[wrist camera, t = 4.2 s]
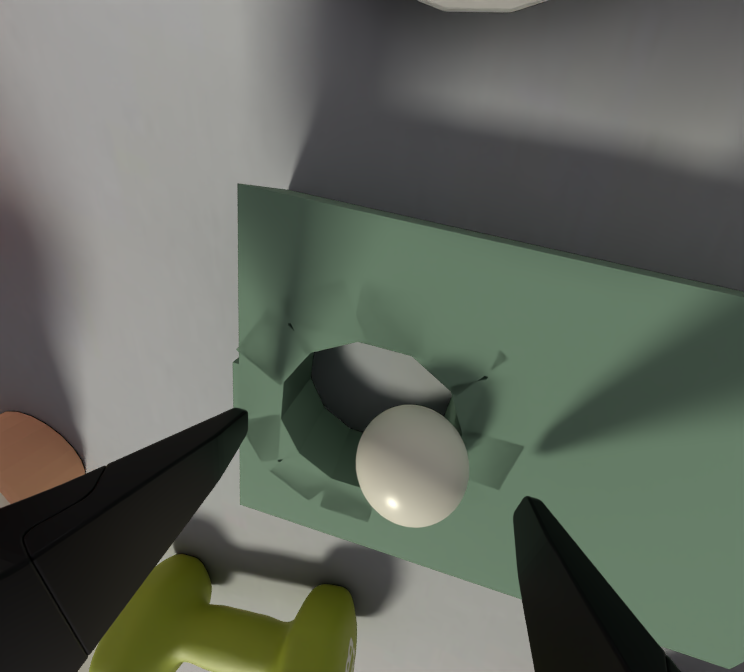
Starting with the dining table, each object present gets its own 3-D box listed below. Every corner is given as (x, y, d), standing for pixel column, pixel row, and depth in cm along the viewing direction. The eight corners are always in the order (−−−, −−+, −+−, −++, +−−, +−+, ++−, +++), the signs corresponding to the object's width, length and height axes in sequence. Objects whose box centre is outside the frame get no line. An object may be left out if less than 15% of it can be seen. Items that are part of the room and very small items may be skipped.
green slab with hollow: (980, 344, 9) (1231, 407, 6) (674, 584, 15) (729, 669, 12) (281, 188, 11) (229, 181, 8) (267, 455, 17) (235, 502, 14)
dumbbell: (359, 570, 20) (323, 745, 13) (366, 630, 23) (340, 794, 17) (160, 531, 23) (54, 657, 17) (190, 588, 26) (111, 712, 20)
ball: (342, 405, 8) (416, 372, 11) (326, 485, 10) (394, 440, 12) (444, 501, 6) (507, 434, 9) (403, 584, 8) (466, 507, 10)
